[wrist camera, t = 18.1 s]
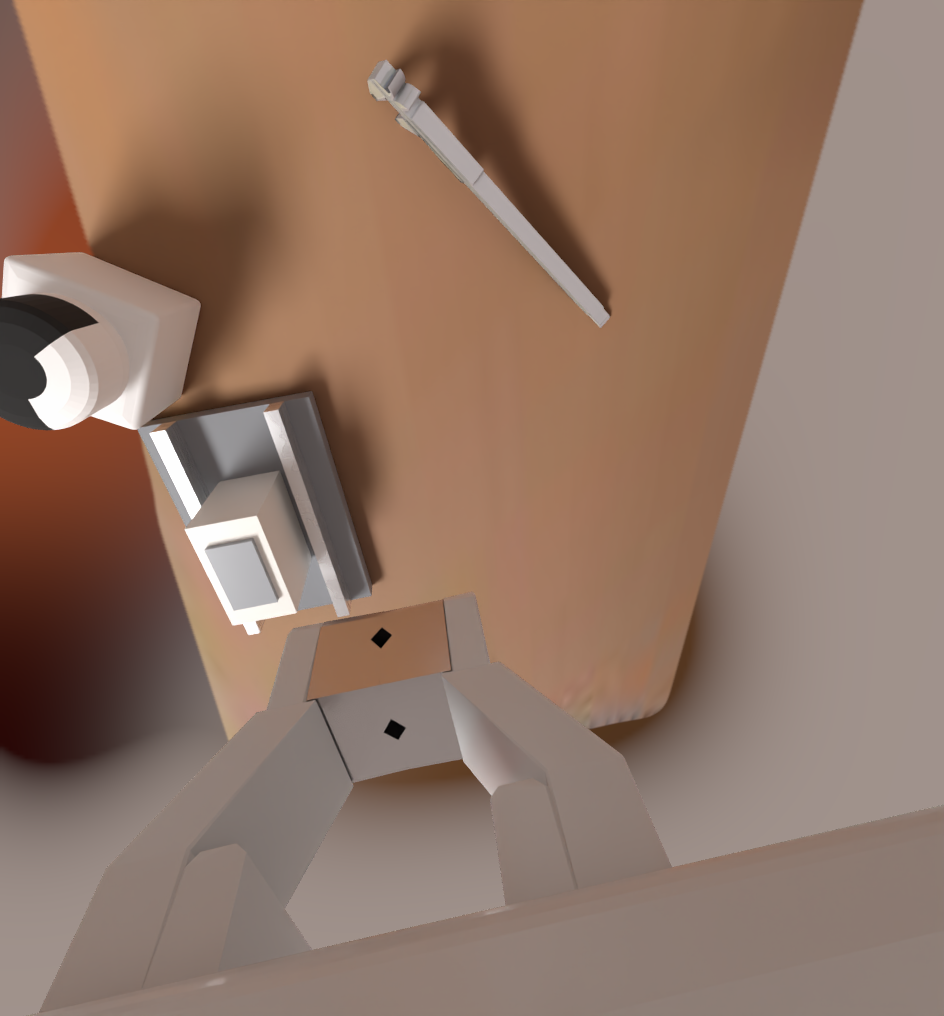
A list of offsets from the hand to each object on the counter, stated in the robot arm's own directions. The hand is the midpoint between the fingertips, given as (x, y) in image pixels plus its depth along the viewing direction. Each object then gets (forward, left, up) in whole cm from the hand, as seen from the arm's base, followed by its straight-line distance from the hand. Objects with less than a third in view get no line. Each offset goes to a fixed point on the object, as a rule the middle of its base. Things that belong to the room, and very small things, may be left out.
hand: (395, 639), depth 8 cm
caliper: (-6, +8, -32) cm, 33 cm away
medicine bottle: (-3, -17, -31) cm, 36 cm away
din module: (+12, -13, -30) cm, 34 cm away
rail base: (+12, -13, -31) cm, 36 cm away
